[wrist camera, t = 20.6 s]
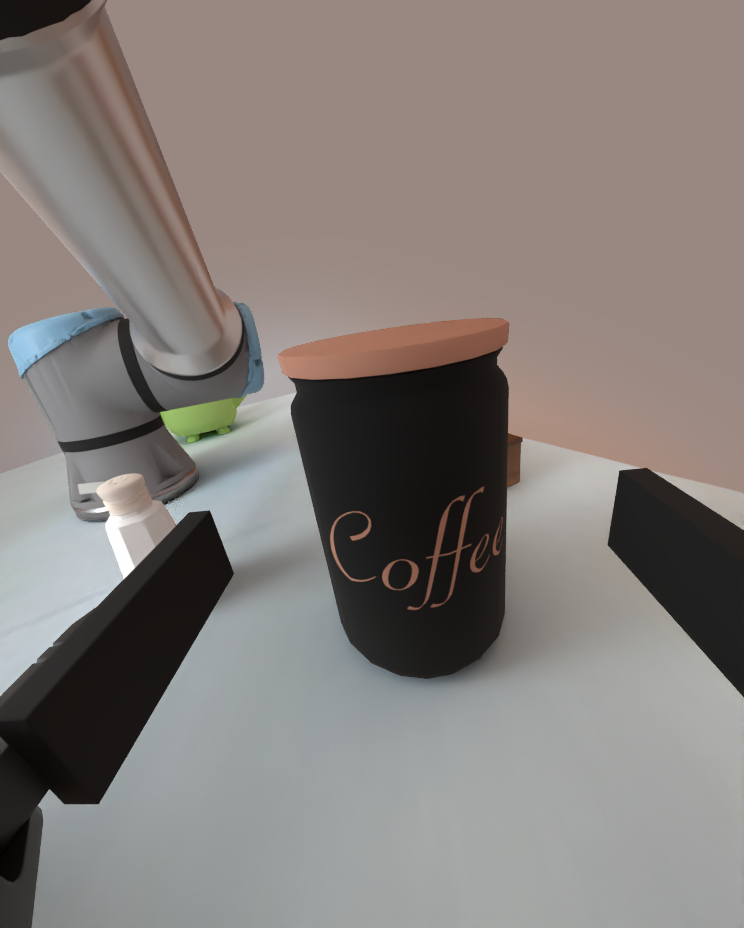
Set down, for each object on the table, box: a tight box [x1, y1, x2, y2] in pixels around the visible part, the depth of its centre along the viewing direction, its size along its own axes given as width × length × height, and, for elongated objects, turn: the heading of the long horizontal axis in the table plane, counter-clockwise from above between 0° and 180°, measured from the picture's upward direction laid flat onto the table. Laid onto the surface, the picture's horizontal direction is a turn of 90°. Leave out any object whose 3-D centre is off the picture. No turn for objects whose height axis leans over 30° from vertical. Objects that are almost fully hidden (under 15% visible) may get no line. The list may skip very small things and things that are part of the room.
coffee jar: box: [278, 318, 509, 679], centre depth 20 cm, size 11×11×18 cm
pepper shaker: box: [96, 473, 176, 579], centre depth 26 cm, size 5×5×11 cm
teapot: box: [160, 395, 247, 443], centre depth 72 cm, size 20×13×13 cm
